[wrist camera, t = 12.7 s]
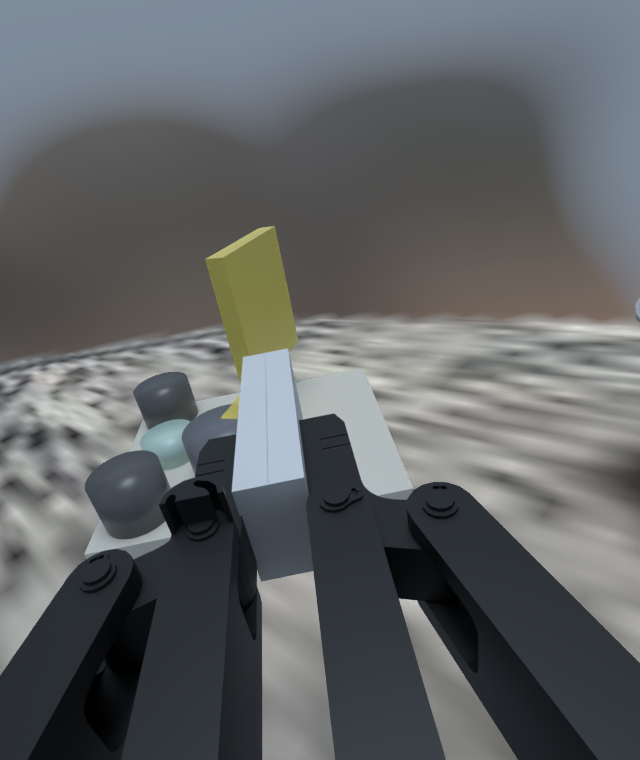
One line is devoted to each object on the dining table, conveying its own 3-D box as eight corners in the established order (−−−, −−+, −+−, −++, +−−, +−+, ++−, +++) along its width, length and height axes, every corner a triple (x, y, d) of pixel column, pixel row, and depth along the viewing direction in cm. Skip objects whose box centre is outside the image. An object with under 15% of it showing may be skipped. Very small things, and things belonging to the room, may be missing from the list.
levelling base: (98, 579, 26) (60, 513, 24) (155, 431, 39) (134, 379, 37) (415, 515, 26) (408, 443, 24) (365, 389, 40) (358, 334, 37)
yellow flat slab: (255, 496, 27) (193, 294, 21) (180, 489, 28) (105, 300, 23) (326, 372, 38) (299, 223, 33) (271, 373, 40) (236, 230, 35)
